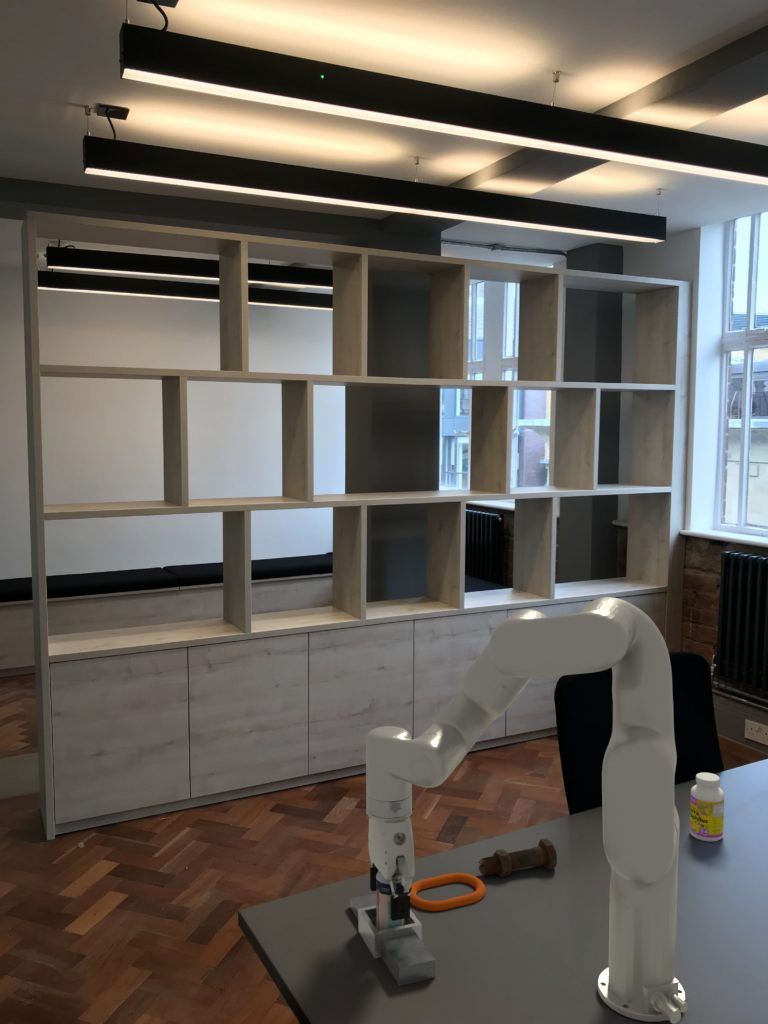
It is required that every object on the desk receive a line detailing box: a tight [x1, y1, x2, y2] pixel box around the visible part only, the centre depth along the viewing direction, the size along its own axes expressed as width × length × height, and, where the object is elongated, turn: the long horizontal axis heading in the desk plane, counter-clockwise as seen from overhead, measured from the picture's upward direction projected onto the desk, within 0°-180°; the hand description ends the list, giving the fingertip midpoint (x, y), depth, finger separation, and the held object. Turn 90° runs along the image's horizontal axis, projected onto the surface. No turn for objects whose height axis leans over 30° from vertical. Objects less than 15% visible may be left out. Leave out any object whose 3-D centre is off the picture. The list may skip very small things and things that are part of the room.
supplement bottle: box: [689, 772, 725, 843], centre depth 181 cm, size 7×7×13 cm
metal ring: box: [410, 872, 487, 912], centre depth 158 cm, size 10×2×15 cm
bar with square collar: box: [349, 893, 436, 987], centre depth 143 cm, size 24×8×4 cm, turn 20°
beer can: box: [375, 871, 404, 931], centre depth 143 cm, size 5×5×12 cm
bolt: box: [477, 837, 558, 878], centre depth 166 cm, size 6×5×15 cm
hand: (389, 903), depth 143 cm, fingers open, 9 cm apart
